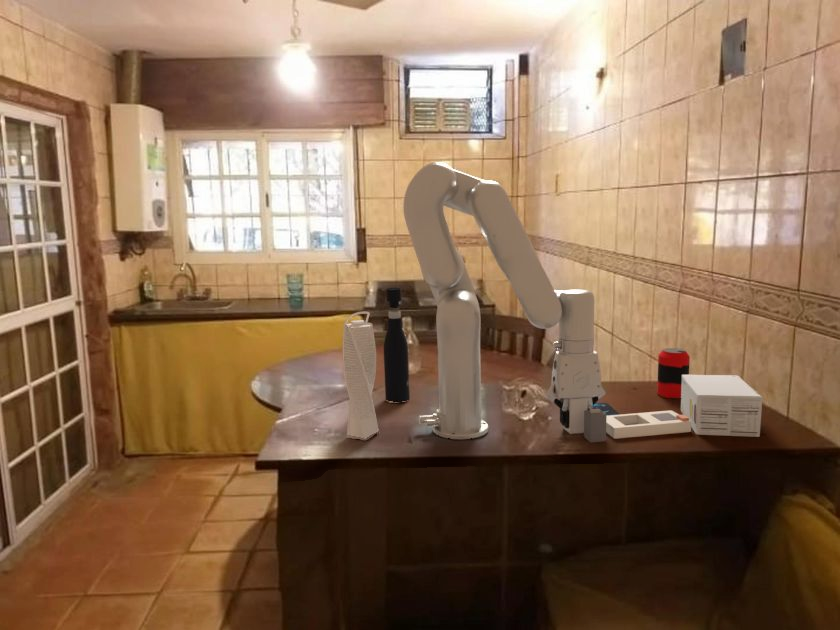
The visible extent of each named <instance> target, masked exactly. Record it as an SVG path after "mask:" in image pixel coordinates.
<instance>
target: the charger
mask: <svg viewBox="0 0 840 630" xmlns="http://www.w3.org/2000/svg"><path fill="white" fill-rule="evenodd" d="M587 408H588V398H576V399H569V403H568V411H569V428H565V427H564V426H563V425H562V428H563V429H564V430H565V431H566V432H567V433H568V434H569V435H573V434H584V410H587Z"/></svg>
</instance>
